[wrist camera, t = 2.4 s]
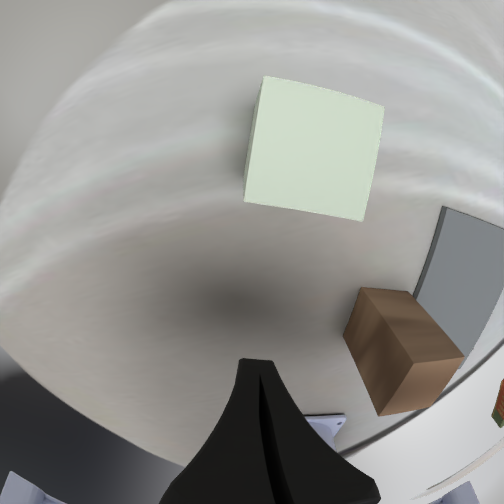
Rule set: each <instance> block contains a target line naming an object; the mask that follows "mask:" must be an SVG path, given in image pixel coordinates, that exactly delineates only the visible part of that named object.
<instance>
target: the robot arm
mask: <svg viewBox="0 0 504 504" xmlns="http://www.w3.org/2000/svg"><path fill="white" fill-rule="evenodd" d="M345 421H346V416H345V415H331V416H308V417H304V416H303V414H302V413H301V411H300V410H299V409H298V407H297V406H296V404H295V402H294V401H293V399H292V397H291V396H290V394H289V392H288V391H287V389H286V387H285V385H284V383H283V381H282V380H281V378H280V376H279V373H278V371H277V369H276V367H275V365H274V362H273V361H270V360H257V359H246V358H242V359H240V360H239V364H238V369H237V375H236V380H235V385H234V388H233V391H232V394H231V396H230V399H229V401H228V403H227V405H226V407H225V410H224V412H223V414H222V416H221V418H220V419H219V421H218V423H217V425H216V426H215V428H214V430H213V431H212V433H211V435H210V436H209V438H208V439H207V441H206V442H205V444H204V445H203V446H202V448H201V449H200V450H199V452H198V453H197V454H196V456H195V457H194V458H193V459H192V461H191V462H190V463H189V464H188V465H187V467H186V468H185V469H184V470H183V471H182V472H181V473H180V474H179V475H178V476H177V477H176V478H175V479H174V480H173V481H172V482H171V484H170V486H169V487H168V489H167V490H166V492H165V493H164V495H163V497H162V498H161V501H160V503H159V504H377V503H379V501H380V500H381V497H380V494H379V490H378V487H377V485H376V483H375V481H374V479H372V478H371V477H369V476H368V475H366V474H364V473H363V472H361V471H360V470H358V469H357V468H355V467H354V466H353V465H351V464H350V463H349V462H348V461H346V460H345V459H344V458H342V457H341V456H340V455H339V454H338V453H337V451H336V447H335V443H334V439H333V438H334V436H335V435H336V434H337V432H338V431H339V429H340V428H341V427H342V425H343V424H344V422H345ZM0 504H65V503H63V502H61V501H59V500H57V499H55V498H53V497H51V496H49V495H47V494H45V493H44V492H43V491H42V490H41V489H39V488H38V487H37V486H35V485H33V484H32V483H30V482H28V481H27V480H25V479H23V478H22V477H20V476H19V475H17V474H15V473H14V472H12V471H10V473H9V475H8V477H7V480H6V483H5V486H4V488H3V490H2V493H1V496H0ZM429 504H479V501H478V499H477V496H476V494H475V492H474V489H473V487H472V485H471V483H470V481H468V482H466V483H464V484H462V485H460V486H459V487H457V488H455V489H453V490H452V491H450V492H448V493H447V494H445V495H444V496H443V497H442V498H440V499H438V500H436V501H433V502H431V503H429Z"/></svg>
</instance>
